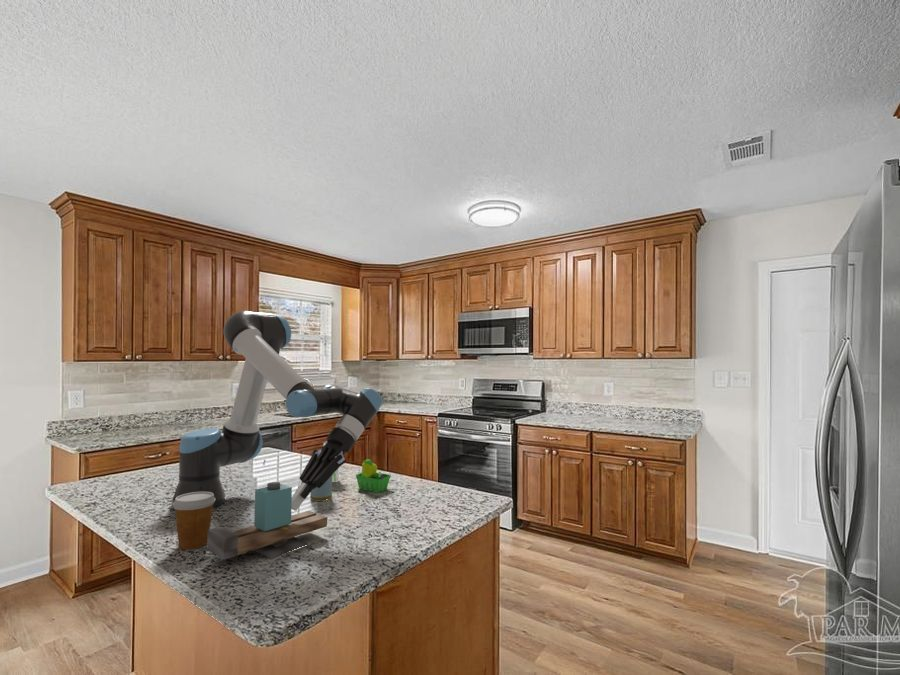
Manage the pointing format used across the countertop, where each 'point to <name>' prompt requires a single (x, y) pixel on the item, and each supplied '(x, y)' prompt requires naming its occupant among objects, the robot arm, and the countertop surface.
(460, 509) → the countertop surface
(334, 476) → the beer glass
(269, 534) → the balance beam
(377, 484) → the fruit basket
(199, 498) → the disposable coffee cup
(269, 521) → the block
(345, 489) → the countertop surface
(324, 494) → the bottle
